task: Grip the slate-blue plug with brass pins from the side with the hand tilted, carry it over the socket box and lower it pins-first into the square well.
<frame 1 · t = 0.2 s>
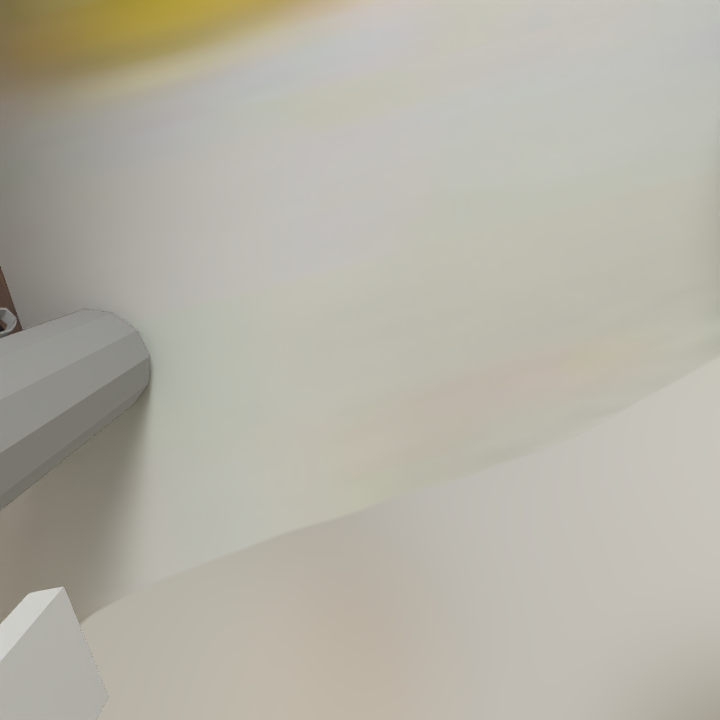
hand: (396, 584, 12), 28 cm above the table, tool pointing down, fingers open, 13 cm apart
water bottle: (94, 347, 40), on the table
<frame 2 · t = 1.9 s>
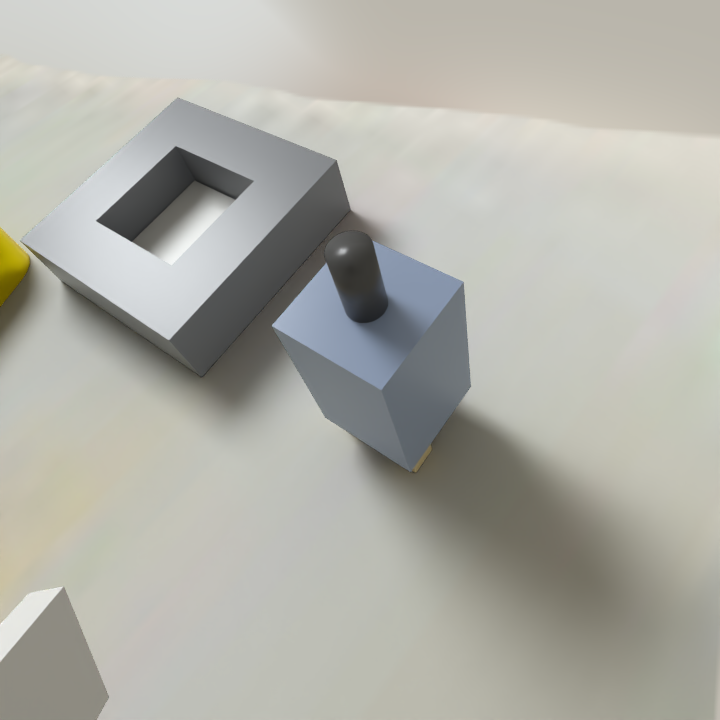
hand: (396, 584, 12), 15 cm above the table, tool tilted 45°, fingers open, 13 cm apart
plug: (402, 417, 30), on the table
socket: (202, 245, 39), on the table
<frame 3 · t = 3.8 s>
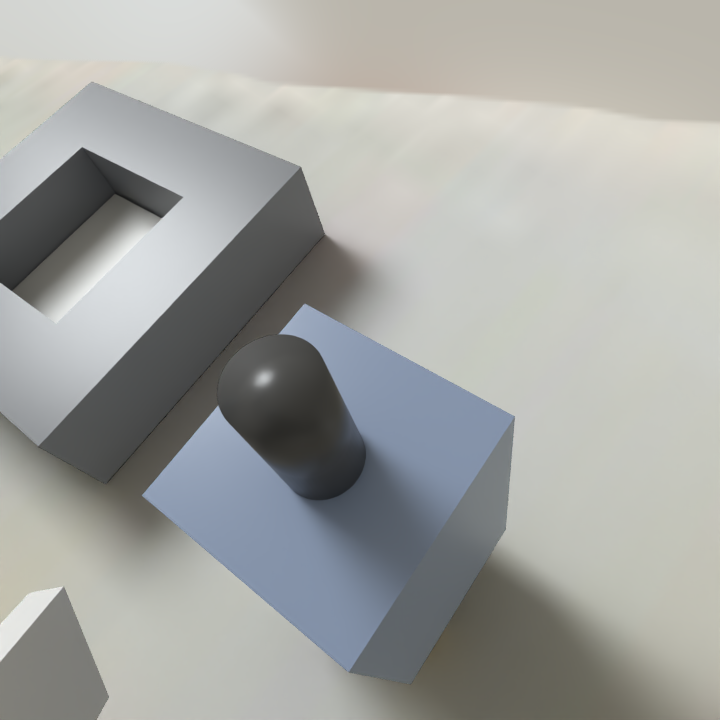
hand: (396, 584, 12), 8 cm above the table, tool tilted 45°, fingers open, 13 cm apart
plug: (396, 563, 19), on the table
socket: (121, 283, 28), on the table
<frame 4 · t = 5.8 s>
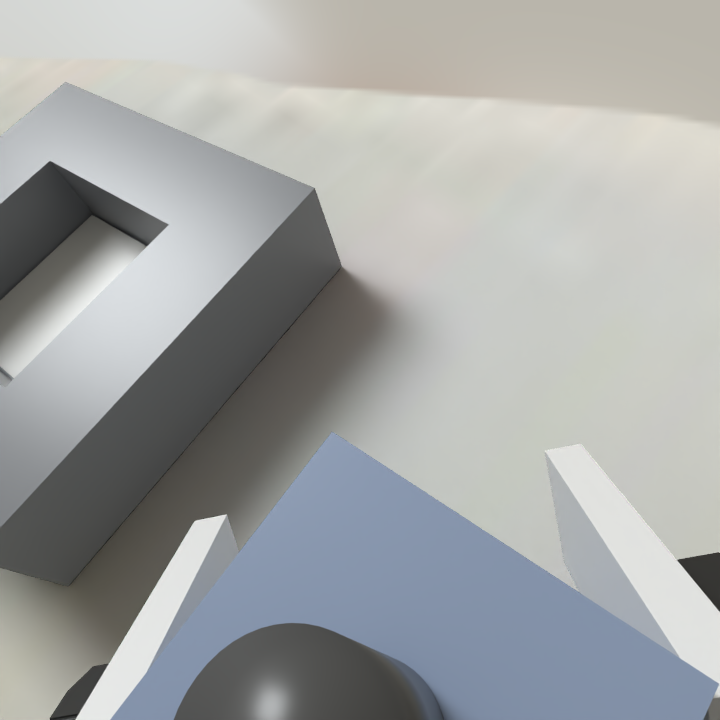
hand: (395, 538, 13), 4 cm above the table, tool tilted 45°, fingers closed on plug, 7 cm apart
plug: (441, 718, 15), on the table, touching gripper
socket: (97, 324, 23), on the table
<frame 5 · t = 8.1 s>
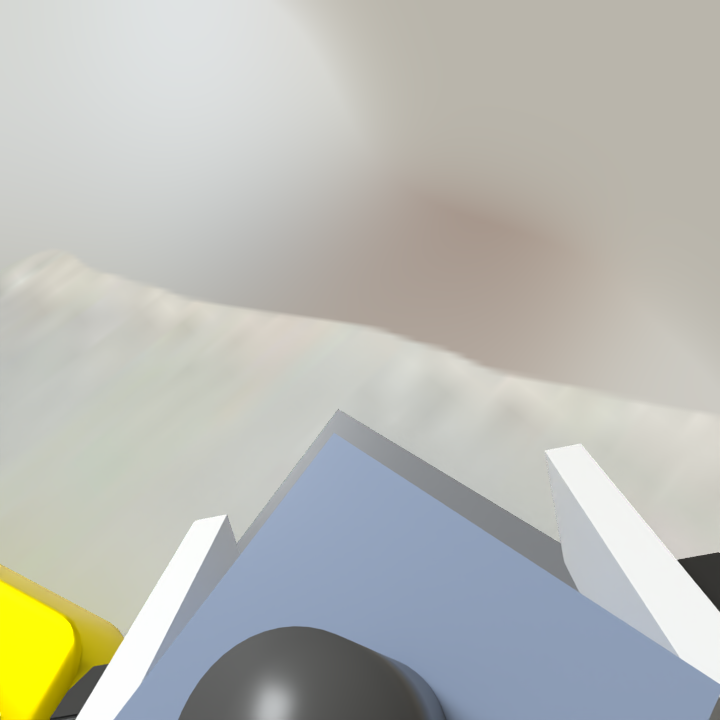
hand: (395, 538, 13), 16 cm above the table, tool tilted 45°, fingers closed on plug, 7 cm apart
plug: (443, 719, 15), point 12 cm above the table, touching gripper
socket: (386, 637, 27), on the table
when the fingers open (6 cm above the table, at t = 10.7 s): plug drops 1 cm, resting on socket.
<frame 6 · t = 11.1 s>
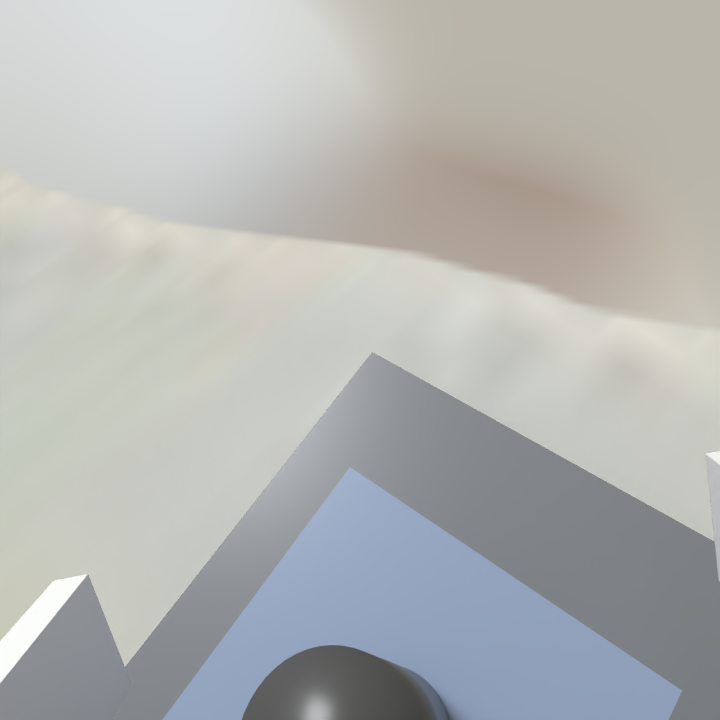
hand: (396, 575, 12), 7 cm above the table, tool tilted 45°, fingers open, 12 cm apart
plug: (444, 719, 16), point 1 cm above the table, touching socket
socket: (448, 716, 17), on the table
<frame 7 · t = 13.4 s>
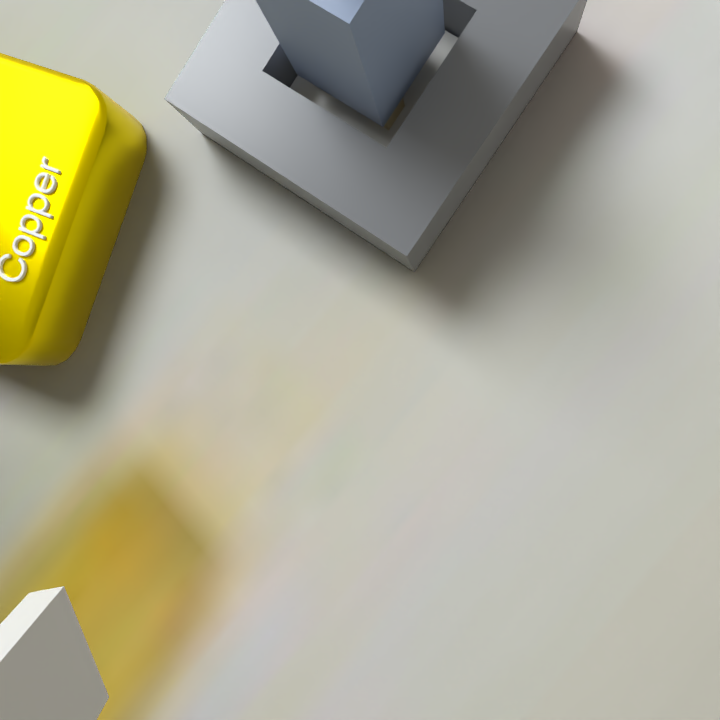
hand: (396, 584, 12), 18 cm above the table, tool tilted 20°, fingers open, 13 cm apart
element tile: (9, 212, 35), on the table
plug: (375, 73, 29), point 1 cm above the table, touching socket
socket: (378, 84, 31), on the table
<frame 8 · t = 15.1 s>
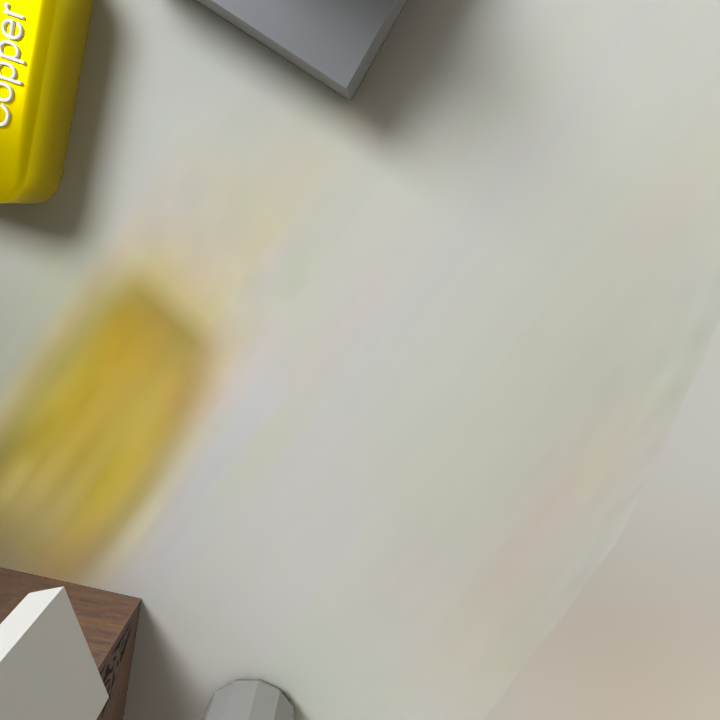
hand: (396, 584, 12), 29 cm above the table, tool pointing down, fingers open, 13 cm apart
water bottle: (242, 705, 48), on the table
tissue box cover: (37, 707, 49), on the table
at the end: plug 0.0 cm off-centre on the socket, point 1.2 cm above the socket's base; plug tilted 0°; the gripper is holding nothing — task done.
